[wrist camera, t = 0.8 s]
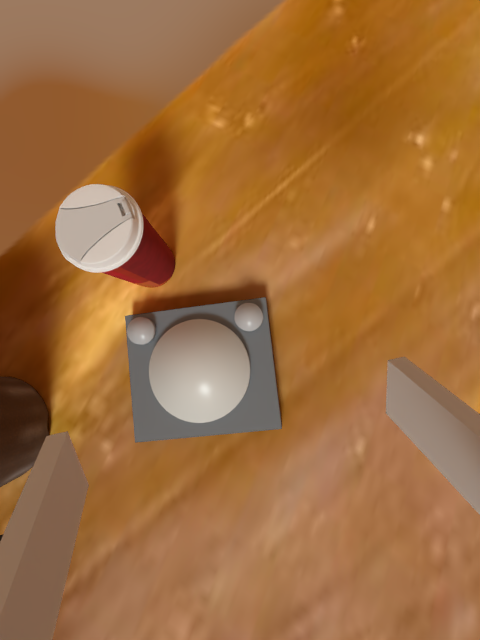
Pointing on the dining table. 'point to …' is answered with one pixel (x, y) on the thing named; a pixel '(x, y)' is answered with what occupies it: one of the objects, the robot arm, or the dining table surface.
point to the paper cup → (112, 236)
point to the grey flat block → (202, 371)
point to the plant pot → (20, 427)
